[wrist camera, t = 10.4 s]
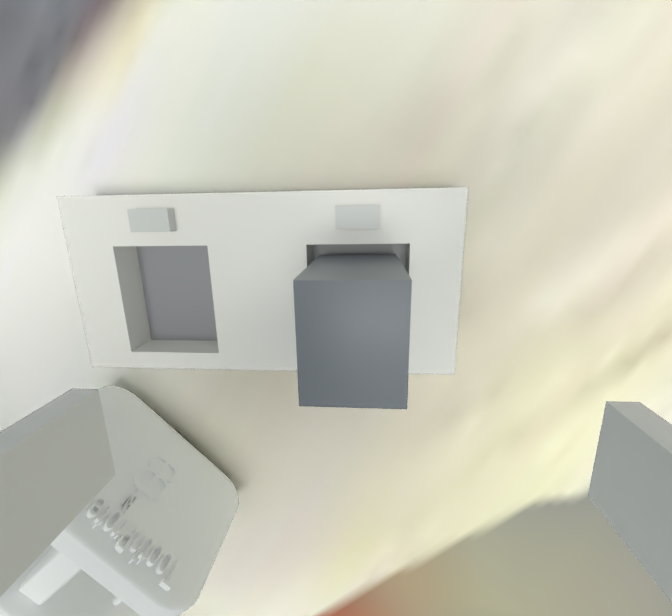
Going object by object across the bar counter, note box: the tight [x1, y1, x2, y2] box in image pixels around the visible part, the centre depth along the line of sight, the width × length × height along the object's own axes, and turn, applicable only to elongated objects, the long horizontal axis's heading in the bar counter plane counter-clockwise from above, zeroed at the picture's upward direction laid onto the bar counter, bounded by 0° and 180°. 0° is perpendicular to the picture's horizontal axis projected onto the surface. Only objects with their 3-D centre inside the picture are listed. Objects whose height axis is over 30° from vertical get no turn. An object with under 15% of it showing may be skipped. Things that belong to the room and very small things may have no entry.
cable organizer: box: [0, 386, 239, 616], centre depth 27 cm, size 15×11×12 cm
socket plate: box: [57, 187, 468, 374], centre depth 25 cm, size 26×12×4 cm, turn 91°
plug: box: [293, 254, 412, 409], centre depth 21 cm, size 5×6×10 cm
